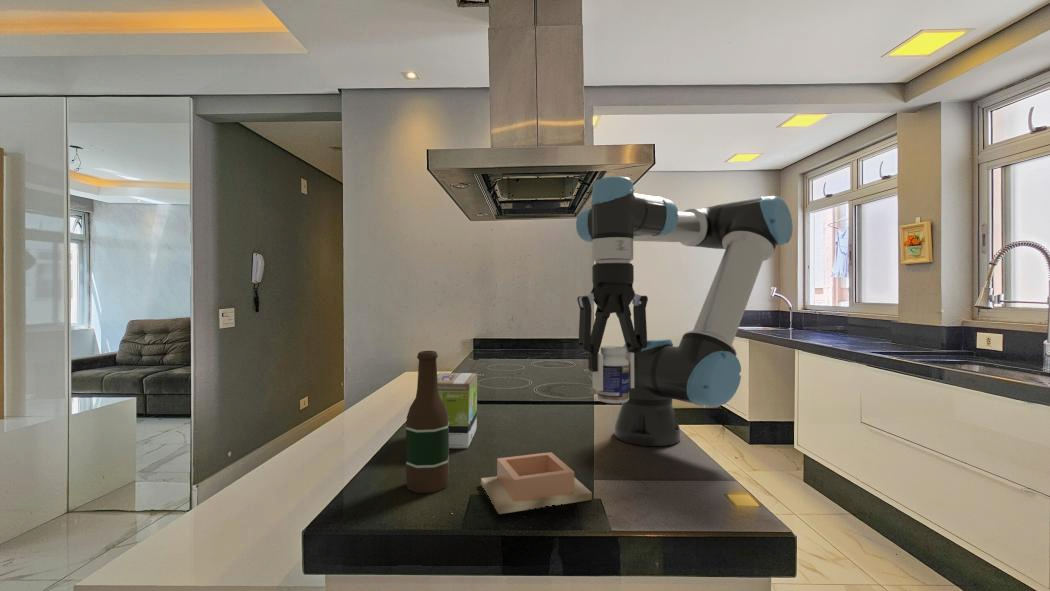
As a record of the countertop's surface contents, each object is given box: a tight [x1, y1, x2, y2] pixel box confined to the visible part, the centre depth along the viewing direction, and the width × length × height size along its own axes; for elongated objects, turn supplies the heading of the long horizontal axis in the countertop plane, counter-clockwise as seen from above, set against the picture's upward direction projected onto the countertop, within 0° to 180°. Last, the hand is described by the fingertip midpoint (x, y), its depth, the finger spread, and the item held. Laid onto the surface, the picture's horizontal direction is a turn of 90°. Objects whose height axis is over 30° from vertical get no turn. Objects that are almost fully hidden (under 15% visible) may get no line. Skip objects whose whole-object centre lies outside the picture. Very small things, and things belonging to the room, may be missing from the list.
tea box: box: [437, 372, 478, 449], centre depth 113 cm, size 15×10×15 cm, turn 179°
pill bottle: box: [597, 345, 629, 404], centre depth 88 cm, size 6×6×10 cm
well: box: [496, 452, 575, 502], centre depth 82 cm, size 10×10×4 cm
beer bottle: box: [405, 350, 450, 494], centre depth 85 cm, size 8×8×24 cm
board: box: [480, 475, 593, 515], centre depth 82 cm, size 16×12×1 cm
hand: (613, 387), depth 88 cm, fingers closed on pill bottle, 6 cm apart
